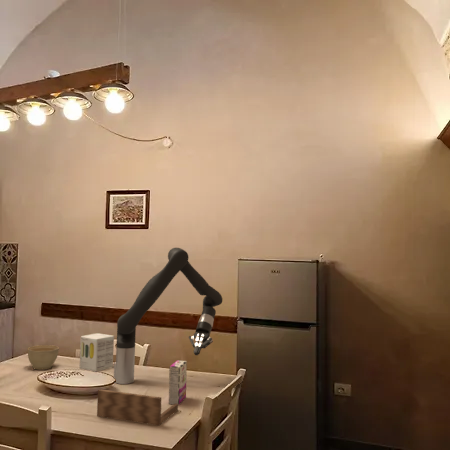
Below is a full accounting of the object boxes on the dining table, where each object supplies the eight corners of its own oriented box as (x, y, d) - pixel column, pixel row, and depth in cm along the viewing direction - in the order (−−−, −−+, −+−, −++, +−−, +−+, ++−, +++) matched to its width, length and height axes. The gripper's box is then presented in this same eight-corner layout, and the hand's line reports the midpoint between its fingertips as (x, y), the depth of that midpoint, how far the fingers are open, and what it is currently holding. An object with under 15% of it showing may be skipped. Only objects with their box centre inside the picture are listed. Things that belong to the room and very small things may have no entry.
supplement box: (78, 368, 257) (79, 336, 258) (96, 363, 268) (97, 332, 269) (95, 372, 250) (96, 339, 251) (113, 367, 261) (114, 335, 262)
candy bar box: (175, 396, 212) (176, 360, 213) (186, 397, 211) (187, 360, 212) (167, 404, 201) (169, 365, 202) (178, 405, 200) (180, 366, 201)
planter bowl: (51, 372, 247) (52, 351, 248) (21, 371, 247) (22, 350, 248) (62, 364, 263) (63, 345, 264) (34, 363, 263) (35, 344, 264)
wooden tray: (96, 415, 185) (98, 390, 186) (120, 402, 202) (121, 378, 203) (158, 425, 177) (159, 398, 178) (177, 410, 194) (178, 385, 195)
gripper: (191, 319, 239) (181, 348, 227) (215, 321, 235) (207, 351, 223) (194, 328, 244) (185, 357, 232) (218, 330, 240) (210, 359, 228)
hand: (196, 354), depth 227 cm, fingers closed
